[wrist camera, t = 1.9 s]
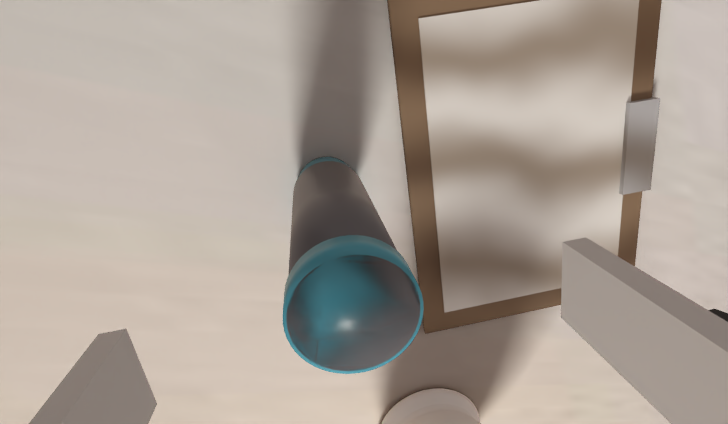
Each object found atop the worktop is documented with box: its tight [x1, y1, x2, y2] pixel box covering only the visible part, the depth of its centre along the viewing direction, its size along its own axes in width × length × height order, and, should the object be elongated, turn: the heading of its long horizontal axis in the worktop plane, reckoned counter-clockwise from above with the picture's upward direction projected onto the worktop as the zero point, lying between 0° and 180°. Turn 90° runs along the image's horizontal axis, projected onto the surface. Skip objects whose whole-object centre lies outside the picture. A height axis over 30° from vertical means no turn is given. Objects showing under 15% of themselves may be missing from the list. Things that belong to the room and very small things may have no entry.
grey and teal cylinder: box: [283, 157, 424, 374], centre depth 19 cm, size 4×4×14 cm
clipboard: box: [387, 0, 661, 334], centre depth 26 cm, size 22×16×1 cm
